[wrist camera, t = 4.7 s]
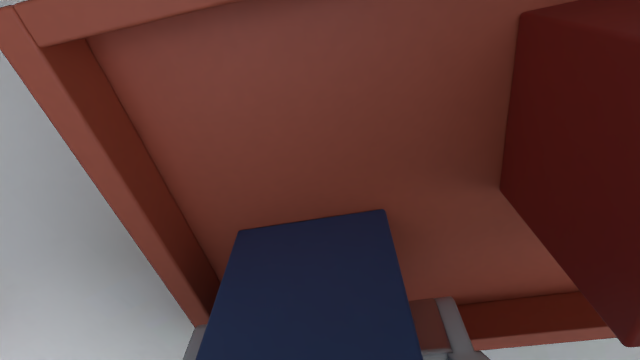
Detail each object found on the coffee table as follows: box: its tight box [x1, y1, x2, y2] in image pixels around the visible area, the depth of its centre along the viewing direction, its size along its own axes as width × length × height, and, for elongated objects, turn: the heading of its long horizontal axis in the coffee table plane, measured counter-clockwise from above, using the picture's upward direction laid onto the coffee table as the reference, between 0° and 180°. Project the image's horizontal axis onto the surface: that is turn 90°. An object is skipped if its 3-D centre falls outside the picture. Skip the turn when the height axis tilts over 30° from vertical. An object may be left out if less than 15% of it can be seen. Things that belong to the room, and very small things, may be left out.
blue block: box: [195, 209, 423, 360], centre depth 10 cm, size 5×5×5 cm
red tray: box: [0, 0, 617, 351], centre depth 9 cm, size 18×14×2 cm
